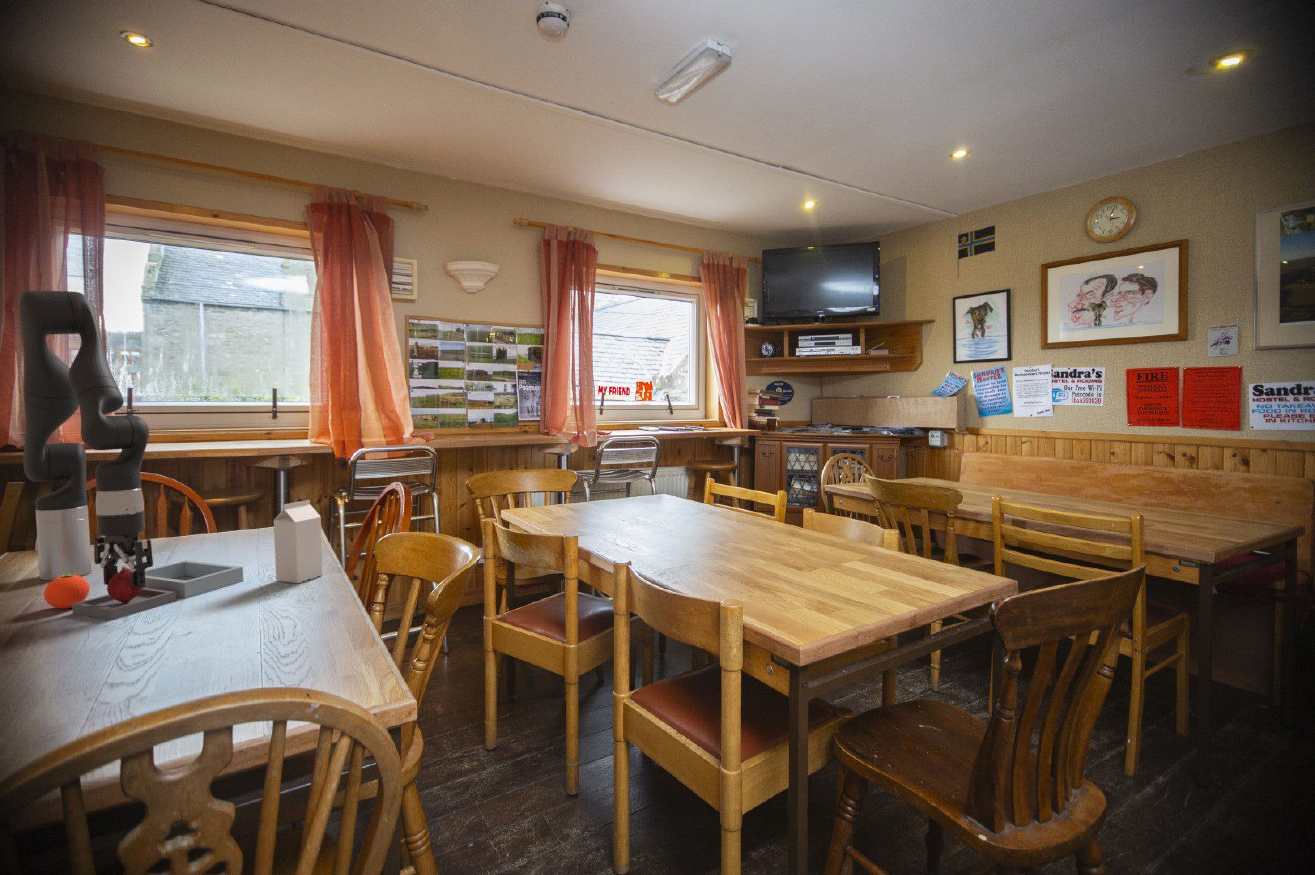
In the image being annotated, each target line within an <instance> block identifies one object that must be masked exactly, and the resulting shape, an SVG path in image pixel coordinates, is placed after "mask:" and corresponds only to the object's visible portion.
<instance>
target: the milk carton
mask: <svg viewBox="0 0 1315 875" xmlns="http://www.w3.org/2000/svg"><path fill="white" fill-rule="evenodd" d="M321 518H322V517H321V515H320V513H318V512H317V511H316V509H315V508H314V507H313V506H312V505H311V499H307V500H302V501H296V502H291V503H285V504H283V509H282V510H281V511H280V513H279V514H278V515H277V516H276V517H275V518H274V519H273V533H274V535H273V536H274V537H273V538H274V559H275V561H274V562H275V580H276V581H279V582H285V583H292V584H301V583H304V582H307V581H309V580H308V579H310V580H313V579H316V578H318V576H319V577H322V576H323V575H324V574H323V573H324V572H323V571H324V570H323V546H322V545H323V544H322V519H321ZM321 575H322V576H321ZM306 580H307V581H306ZM303 581H304V582H303Z"/></svg>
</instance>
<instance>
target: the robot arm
mask: <svg viewBox="0 0 1315 875" xmlns="http://www.w3.org/2000/svg"><path fill="white" fill-rule="evenodd" d="M18 314H19V321H20V329H21V337H22V344H23V360H24V361H23V402H24V414H25V435H24V436H25V437H24V448H23V469H24V473H25V476H26V478H27V479H28V480H30V481H32V482H52V481H53V482H54V481H65V480H66V481H68V483H67V484H66V485H64V486H63V487H61V488H60V489H59V488H58V489H57V490H55V491H53V492H50V493H46V494H44V495H41V496H39V497H37V498H36V499H35V501H34V507H35V521H36V523H35V524H36V535H37V536H36V538H37V540H36V543H37V545H36V546H37V548H36V549H37V559H38V573H39V574H38V576H40V577H39V578H40V580H41V579H42V580H41V581H53V580H54V579H56V578H58V577H61V576H62V575H68V574H71V575H77V576H80V577H82V576H84V575H88V574H90V573H92V559H91V557H92V555H91V554H92V553H91V540H90V525H89V523H90V522H89V510H88V509H89V507H88V496H87V454H86V453H87V452H86V449H85V447H84V446H83V444H82V443H80V442H57V443H56V442H54V443H49V442H48V440H49V438H50V437H51V436H52V434H53V433H54V432H56V430H57V429H59V428H60V427H61V426H62V425H63V424H65V423H66V422H67V421H68V420H69V419H70V418H71V417H72V416H74V415H75V413H76V412H77V411H78V409H79V411H80V437H81V441H82V442H83V443H84V445H86V446H87V447H88V448H89V449H92V450H95V451H112V450H121V451H120V453H119V454H118V456H117V457H116V458H113V459H110V460H107V461H104V462H100V463H98V464H97V465H96V467H95V488H96V496H95V513H96V514H95V516H96V518H95V519H96V530H97V531H96V533H97V535H98V536H94V538H93V551H94V552H93V553H94V554H93V555H94V556H93V558H94V564H95V565H100V568H102V572H103V573H102V574H103V584H104V585H105V586H108V583H109V581H110V580H111V578H112V577H113V576H114V575H115V574H117V573H118V562H119V561H120V560H122V562H123V564H126V565H127V567H128V568H129V569H130V570H131V571H132V572H131V588H132V589H139V588H142V587H144V586H145V570H148V569H149V568H153V566H154V558H153V550H152V548H153V547H152V540H151V539H150V538H143V539H140V535H139V533H140V532H142V531H144V530H145V529H146V522H145V521H146V520H145V506H144V505H145V504H144V503H145V501H144V494H143V492H142V478H141V469H142V468H141V467H142V463H143V460H144V455H145V452H146V448H147V446H148V441H149V438H150V429H149V426H148V424H147V422H146V421H145V420H144V419H143V418H142V417H140V416H139V415H138V416H137V415H129V414H128V415H109V414H111V413H114V412H116V411H119V410H120V409H121V408H122V407H123V406H124V397H123V395H122V392H121V391H120V389H119V386H118V384H117V382H116V380H115V377H114V376H113V375H114V374H112V370H111V369H110V366H109V363H108V358H107V355H106V351H105V347H104V342H103V339H102V335H101V332H100V328H99V325H98V324H99V323H98V321H97V320H98V319H97V318H96V315H95V311H94V309H93V306H92V304H91V302H90V300H89V299H88V297H87V296H86V295H85V294H83V293H82V292H78V291H69V290H68V291H67V290H63V291H62V290H26V291H24V292H22V293H21V294H20V296H19V300H18ZM48 335H49V336H50V335H79V337H80V340H81V343H80V347H79V349H78V351H77V354H76V355H75V357H74V360H73V361H72V364H71V365H70V366H69V365H68V364H66V363H65V362H64V361H63V360H62V359H61V358H59V357H58V355H56V353H55V352H54V351H53V350H52V349H51V347H50V346H49V345H48V343H47V340H46V339H47V336H48ZM47 442H48V443H47ZM101 553H102V554H101ZM145 560H146V561H145Z"/></svg>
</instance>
